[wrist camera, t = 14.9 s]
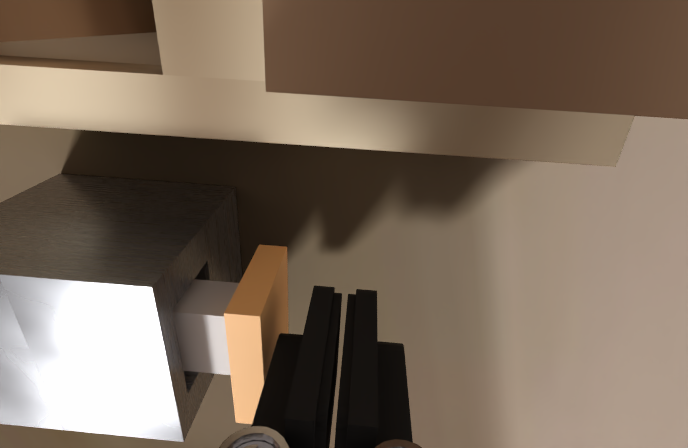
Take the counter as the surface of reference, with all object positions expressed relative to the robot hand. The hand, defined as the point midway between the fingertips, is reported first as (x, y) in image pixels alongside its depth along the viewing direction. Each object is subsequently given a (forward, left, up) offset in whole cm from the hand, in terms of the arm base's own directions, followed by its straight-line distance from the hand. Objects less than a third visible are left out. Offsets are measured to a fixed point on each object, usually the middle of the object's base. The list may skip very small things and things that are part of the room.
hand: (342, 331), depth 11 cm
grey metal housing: (+7, 0, -4) cm, 8 cm away
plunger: (+4, 0, -1) cm, 4 cm away
